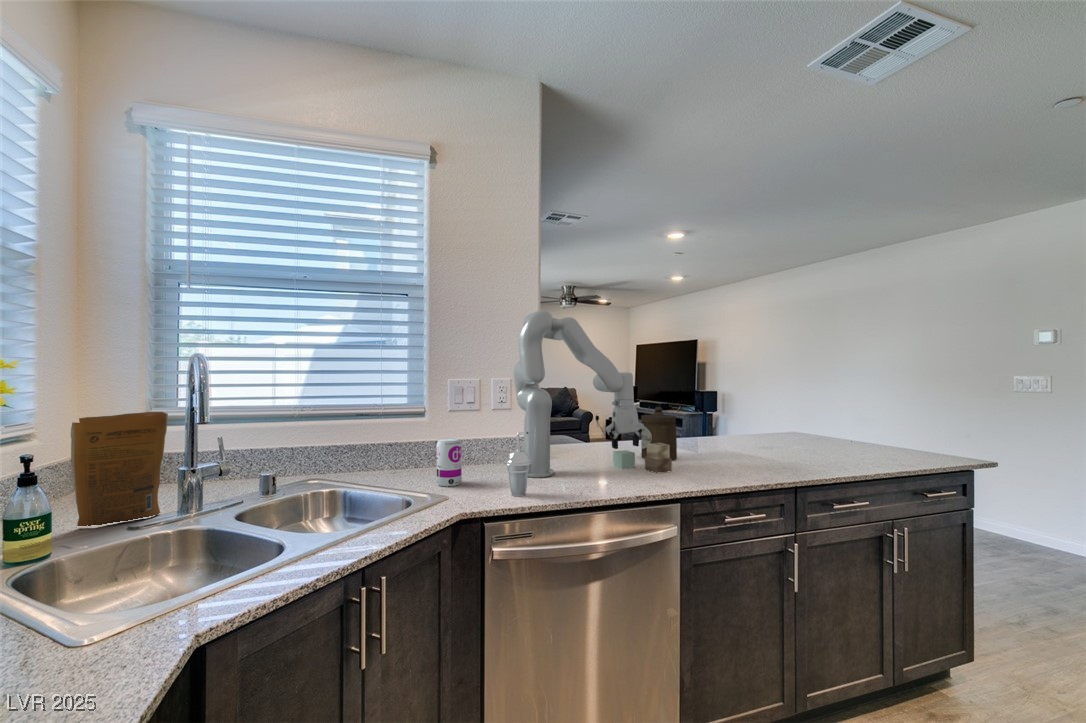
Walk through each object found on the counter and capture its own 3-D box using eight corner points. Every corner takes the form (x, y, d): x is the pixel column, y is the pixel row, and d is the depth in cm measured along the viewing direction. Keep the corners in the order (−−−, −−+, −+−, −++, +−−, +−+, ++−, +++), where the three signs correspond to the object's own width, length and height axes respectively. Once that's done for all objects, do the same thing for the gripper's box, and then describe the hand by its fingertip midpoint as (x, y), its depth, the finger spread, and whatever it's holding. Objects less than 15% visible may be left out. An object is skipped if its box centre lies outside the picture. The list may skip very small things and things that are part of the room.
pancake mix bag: (170, 516, 130) (170, 411, 130) (70, 535, 116) (70, 417, 116) (165, 511, 134) (165, 410, 135) (68, 528, 120) (69, 415, 121)
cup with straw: (530, 490, 156) (529, 427, 156) (534, 498, 147) (534, 431, 147) (503, 491, 154) (503, 428, 154) (506, 499, 145) (506, 432, 145)
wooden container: (640, 454, 218) (640, 405, 218) (674, 455, 216) (674, 405, 216) (642, 461, 204) (642, 408, 204) (679, 461, 202) (678, 408, 202)
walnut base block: (656, 473, 180) (656, 460, 180) (644, 469, 187) (644, 456, 187) (671, 471, 183) (671, 458, 183) (659, 468, 190) (659, 455, 190)
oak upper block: (656, 459, 181) (656, 446, 181) (646, 456, 187) (646, 443, 187) (669, 458, 184) (669, 444, 184) (659, 455, 189) (659, 442, 189)
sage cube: (621, 469, 188) (621, 453, 188) (613, 466, 193) (613, 451, 193) (634, 467, 190) (634, 452, 190) (626, 465, 196) (626, 450, 196)
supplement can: (466, 483, 165) (466, 439, 165) (446, 488, 159) (446, 442, 159) (451, 480, 170) (451, 437, 171) (431, 484, 164) (431, 439, 165)
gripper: (610, 405, 185) (612, 451, 185) (648, 402, 192) (649, 446, 192) (600, 404, 192) (601, 448, 192) (636, 401, 199) (638, 443, 199)
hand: (625, 447), depth 192 cm, fingers open, 9 cm apart
